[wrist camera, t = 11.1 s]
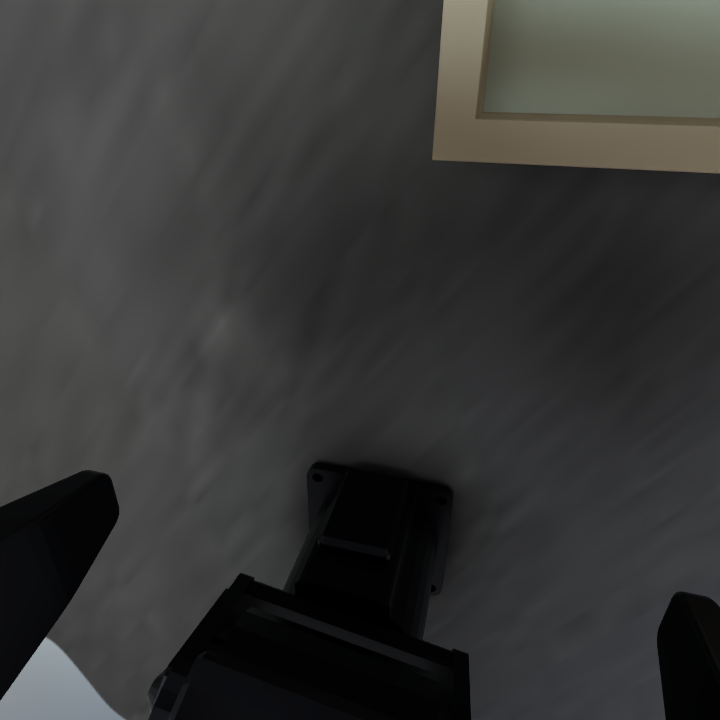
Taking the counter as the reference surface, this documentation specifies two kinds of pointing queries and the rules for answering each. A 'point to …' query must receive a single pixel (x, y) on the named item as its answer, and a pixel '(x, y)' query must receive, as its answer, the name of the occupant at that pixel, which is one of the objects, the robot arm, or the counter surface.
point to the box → (580, 83)
